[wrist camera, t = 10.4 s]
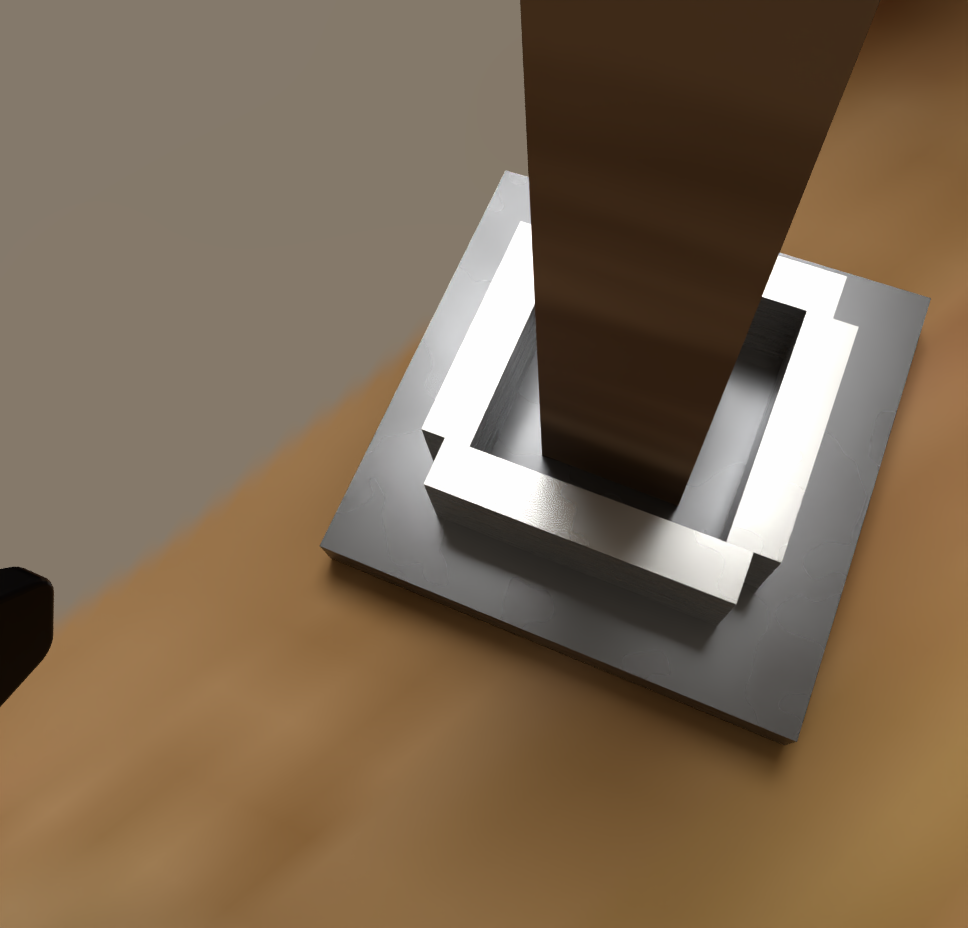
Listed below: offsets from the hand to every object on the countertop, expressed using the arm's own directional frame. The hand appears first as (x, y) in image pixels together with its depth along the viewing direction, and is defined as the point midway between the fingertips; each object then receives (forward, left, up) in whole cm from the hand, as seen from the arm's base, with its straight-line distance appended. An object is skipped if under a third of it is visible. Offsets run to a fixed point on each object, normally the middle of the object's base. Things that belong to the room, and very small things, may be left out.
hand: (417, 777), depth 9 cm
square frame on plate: (+6, +5, -9) cm, 12 cm away
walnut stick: (+6, +5, -8) cm, 12 cm away
